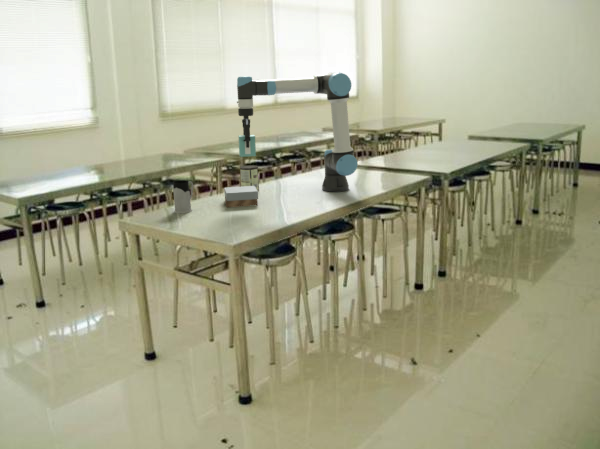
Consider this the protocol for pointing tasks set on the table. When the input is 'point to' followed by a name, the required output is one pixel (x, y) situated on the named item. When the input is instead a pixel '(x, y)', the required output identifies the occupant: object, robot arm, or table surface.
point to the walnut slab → (241, 203)
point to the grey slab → (241, 193)
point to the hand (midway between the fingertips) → (247, 152)
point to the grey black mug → (182, 196)
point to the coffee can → (249, 176)
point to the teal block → (242, 146)
